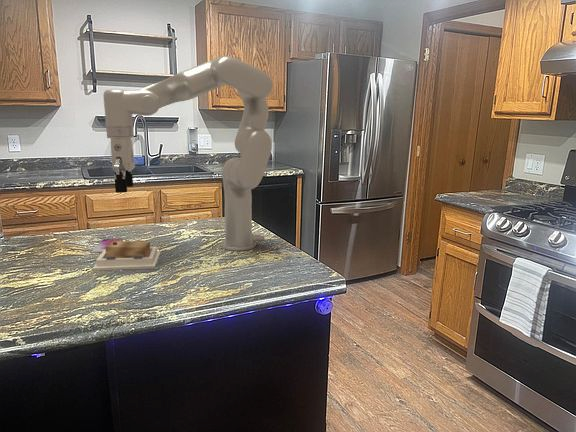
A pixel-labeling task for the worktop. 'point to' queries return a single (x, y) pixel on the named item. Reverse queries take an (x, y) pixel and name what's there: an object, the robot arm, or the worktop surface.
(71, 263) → the worktop surface
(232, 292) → the worktop surface
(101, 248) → the smartphone
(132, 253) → the door panel
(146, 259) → the cabinet frame
